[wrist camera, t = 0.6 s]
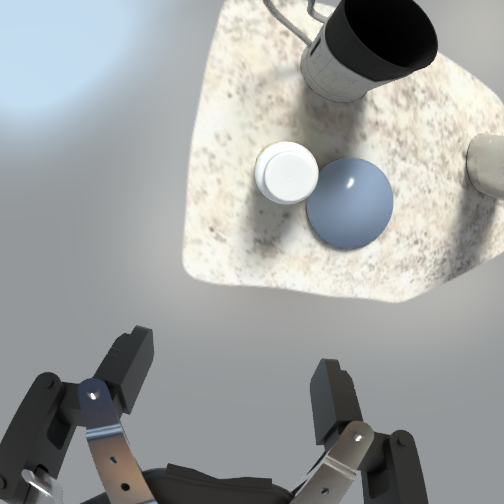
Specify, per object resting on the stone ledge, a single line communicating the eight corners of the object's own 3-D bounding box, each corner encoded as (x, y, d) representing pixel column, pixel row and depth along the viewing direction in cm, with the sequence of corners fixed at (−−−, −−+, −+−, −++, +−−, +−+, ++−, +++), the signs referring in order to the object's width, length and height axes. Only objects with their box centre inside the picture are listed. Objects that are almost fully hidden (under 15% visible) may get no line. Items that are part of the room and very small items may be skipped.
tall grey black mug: (355, 116, 27) (426, 103, 13) (243, 60, 25) (230, -1, 11) (381, 62, 23) (453, 27, 10) (276, 7, 21) (285, -67, 8)
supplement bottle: (283, 199, 31) (294, 225, 22) (245, 169, 30) (238, 183, 20) (314, 162, 29) (339, 173, 20) (276, 131, 28) (284, 126, 19)
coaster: (377, 147, 28) (380, 147, 27) (396, 228, 32) (400, 231, 31) (293, 174, 30) (294, 176, 29) (321, 257, 34) (323, 260, 33)
